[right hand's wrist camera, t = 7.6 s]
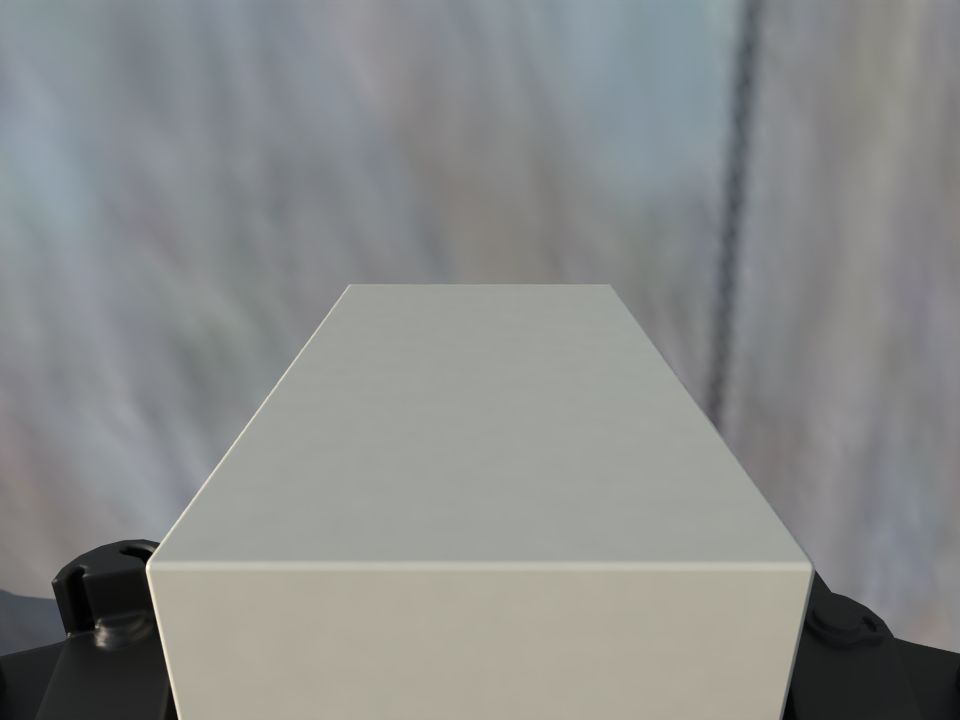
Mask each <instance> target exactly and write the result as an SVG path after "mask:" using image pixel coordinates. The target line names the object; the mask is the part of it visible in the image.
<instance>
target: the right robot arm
mask: <svg viewBox="0 0 960 720" xmlns="http://www.w3.org/2000/svg"><path fill="white" fill-rule="evenodd" d="M159 545H160V543H158V542H153V541H149V540H144V539H141V540H123V541H119V542H115V543H111V544H107V545H103V546H100V547H98V548H96V549H94V550H91V551H89V552H87V553H85V554H82V555H80V556H79V557H77V558H76V559H75V560H73V561H72V562H70V563H69V564H68V565H66V566H65V567H63V568H62V569H61V571H60V572H59V573H58V575H57V576H56V577H55V578H54V580H53V581H52V586H53V589H54V593H55V596H56V600H57V603H58V607H59V610H60V614H61V617H62V621H63V624H64V628H65V631H66V635H67V638H66V640H65V641H62V642H59V643H56V644H52V645H49V646H44V647H40V648H35V649H31V650H27V651H22V652H18V653H13V654H9V655H5V656H0V720H179V719H178V714H177V710H176V705H175V701H174V696H173V692H172V687H171V683H170V678H169V674H168V669H167V665H166V660H165V656H164V651H163V646H162V642H161V637H160V633H159V628H158V624H157V619H156V615H155V610H154V606H153V601H152V597H151V592H150V587H149V583H148V578H147V574H146V565H147V562H148V560H149V559H150V557H151V556H152V555H153V553H154V552H155V551H156V549H157V548H158V547H159ZM782 720H960V654H959V653H955V652H950V651H946V650H941V649H937V648H933V647H928V646H924V645H919V644H915V643H911V642H907V641H904V640H901V639H897V638H894V636H893V635H892V633H891V632H890V630H889V628H888V627H887V625H886V624H885V622H884V621H883V620H882V619H881V618H879V617H878V616H877V615H876V614H875V613H873V612H872V611H871V610H870V609H869V608H867V607H866V606H864V605H862V604H860V603H858V602H856V601H854V600H852V599H850V598H848V597H846V596H842V595H839V594H835V593H832V592H831V591H830V590H829V588H828V587H827V585H826V584H825V583H824V581H823V580H822V578H821V577H820V576H819V574H818V573H817V572H816V570H815V575H814V579H813V584H812V588H811V593H810V597H809V602H808V606H807V611H806V615H805V620H804V624H803V629H802V633H801V638H800V642H799V647H798V651H797V656H796V660H795V664H794V669H793V673H792V678H791V682H790V687H789V691H788V696H787V700H786V705H785V709H784V714H783V718H782Z"/></svg>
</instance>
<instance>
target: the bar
mask: <svg viewBox="0 0 960 720" xmlns="http://www.w3.org/2000/svg"><path fill="white" fill-rule="evenodd" d="M146 574H147V578H148V583H149V587H150V592H151V597H152V601H153V606H154V610H155V615H156V619H157V624H158V628H159V633H160V637H161V642H162V646H163V651H164V656H165V660H166V665H167V669H168V674H169V678H170V683H171V687H172V692H173V696H174V701H175V705H176V710H177V714H178V719H179V720H782V718H783V714H784V709H785V705H786V700H787V696H788V691H789V687H790V682H791V678H792V673H793V669H794V664H795V660H796V656H797V651H798V647H799V642H800V638H801V633H802V629H803V624H804V620H805V615H806V611H807V606H808V602H809V597H810V593H811V588H812V584H813V579H814V575H815V565H814V562H813V561H812V559H811V558H810V557H809V555H808V554H807V553H806V551H805V550H804V548H803V547H802V546H801V544H800V543H799V542H798V540H797V539H796V537H795V536H794V535H793V533H792V532H791V531H790V529H789V528H788V526H787V525H786V524H785V522H784V521H783V520H782V518H781V517H780V515H779V514H778V513H777V511H776V510H775V509H774V507H773V506H772V505H771V503H770V502H769V500H768V499H767V498H766V496H765V495H764V494H763V492H762V491H761V489H760V488H759V487H758V485H757V484H756V483H755V481H754V480H753V478H752V477H751V476H750V474H749V473H748V472H747V470H746V469H745V467H744V466H743V465H742V463H741V462H740V461H739V459H738V458H737V456H736V455H735V454H734V452H733V451H732V450H731V448H730V447H729V445H728V444H727V443H726V441H725V440H724V439H723V437H722V436H721V435H720V433H719V432H718V430H717V429H716V428H715V426H714V425H713V424H712V422H711V421H710V419H709V418H708V417H707V415H706V414H705V413H704V411H703V410H702V408H701V407H700V406H699V404H698V403H697V402H696V400H695V399H694V397H693V396H692V395H691V393H690V392H689V391H688V389H687V388H686V386H685V385H684V384H683V382H682V381H681V380H680V378H679V377H678V375H677V374H676V373H675V371H674V370H673V369H672V367H671V366H670V365H669V363H668V362H667V360H666V359H665V358H664V356H663V355H662V354H661V352H660V351H659V349H658V348H657V347H656V345H655V344H654V343H653V341H652V340H651V338H650V337H649V336H648V334H647V333H646V332H645V330H644V329H643V327H642V326H641V325H640V323H639V322H638V321H637V319H636V318H635V316H634V315H633V314H632V312H631V311H630V310H629V308H628V307H627V305H626V304H625V303H624V301H623V300H622V299H621V297H620V296H619V295H618V293H617V292H616V290H615V289H614V288H613V286H612V285H610V284H351V285H349V286H348V287H347V289H346V290H345V292H344V293H343V294H342V296H341V297H340V298H339V300H338V301H337V303H336V304H335V305H334V307H333V308H332V309H331V311H330V312H329V314H328V315H327V316H326V318H325V319H324V320H323V322H322V323H321V324H320V326H319V327H318V329H317V330H316V331H315V333H314V334H313V335H312V337H311V338H310V340H309V341H308V342H307V344H306V345H305V346H304V348H303V349H302V351H301V352H300V353H299V355H298V356H297V357H296V359H295V360H294V361H293V363H292V364H291V366H290V367H289V368H288V370H287V371H286V372H285V374H284V375H283V377H282V378H281V379H280V381H279V382H278V383H277V385H276V386H275V388H274V389H273V390H272V392H271V393H270V394H269V396H268V397H267V398H266V400H265V401H264V403H263V404H262V405H261V407H260V408H259V409H258V411H257V412H256V414H255V415H254V416H253V418H252V419H251V420H250V422H249V423H248V425H247V426H246V427H245V429H244V430H243V431H242V433H241V434H240V435H239V437H238V438H237V440H236V441H235V442H234V444H233V445H232V446H231V448H230V449H229V451H228V452H227V453H226V455H225V456H224V457H223V459H222V460H221V462H220V463H219V464H218V466H217V467H216V468H215V470H214V471H213V473H212V474H211V475H210V477H209V478H208V479H207V481H206V482H205V483H204V485H203V486H202V488H201V489H200V490H199V492H198V493H197V494H196V496H195V497H194V499H193V500H192V501H191V503H190V504H189V505H188V507H187V508H186V510H185V511H184V512H183V514H182V515H181V516H180V518H179V519H178V520H177V522H176V523H175V525H174V526H173V527H172V529H171V530H170V531H169V533H168V534H167V536H166V537H165V538H164V540H163V541H162V542H161V544H160V545H159V547H158V548H157V549H156V551H155V552H154V553H153V555H152V556H151V557H150V559H149V560H148V562H147V565H146Z"/></svg>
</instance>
